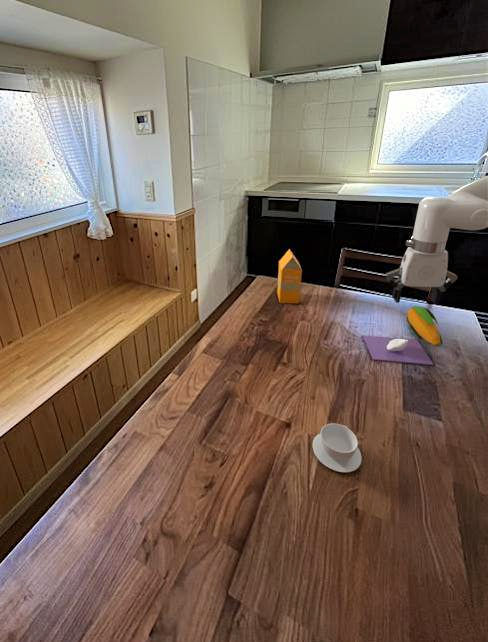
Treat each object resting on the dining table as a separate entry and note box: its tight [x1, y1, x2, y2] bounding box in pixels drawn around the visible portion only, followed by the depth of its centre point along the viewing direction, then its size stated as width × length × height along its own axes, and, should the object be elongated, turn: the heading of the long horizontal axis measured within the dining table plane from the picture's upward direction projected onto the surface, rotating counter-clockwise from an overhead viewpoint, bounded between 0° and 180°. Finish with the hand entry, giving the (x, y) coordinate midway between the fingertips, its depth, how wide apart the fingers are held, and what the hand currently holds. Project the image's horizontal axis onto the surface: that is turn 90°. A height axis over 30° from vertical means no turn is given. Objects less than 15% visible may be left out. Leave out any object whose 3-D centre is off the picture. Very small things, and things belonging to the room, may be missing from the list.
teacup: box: [312, 423, 363, 473], centre depth 73 cm, size 10×10×5 cm
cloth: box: [362, 335, 434, 366], centre depth 104 cm, size 16×12×1 cm
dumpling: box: [387, 338, 408, 351], centre depth 103 cm, size 7×5×4 cm
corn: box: [406, 305, 444, 347], centre depth 109 cm, size 7×8×20 cm
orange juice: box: [276, 248, 303, 304], centre depth 134 cm, size 8×9×20 cm
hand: (414, 301), depth 96 cm, fingers open, 9 cm apart
